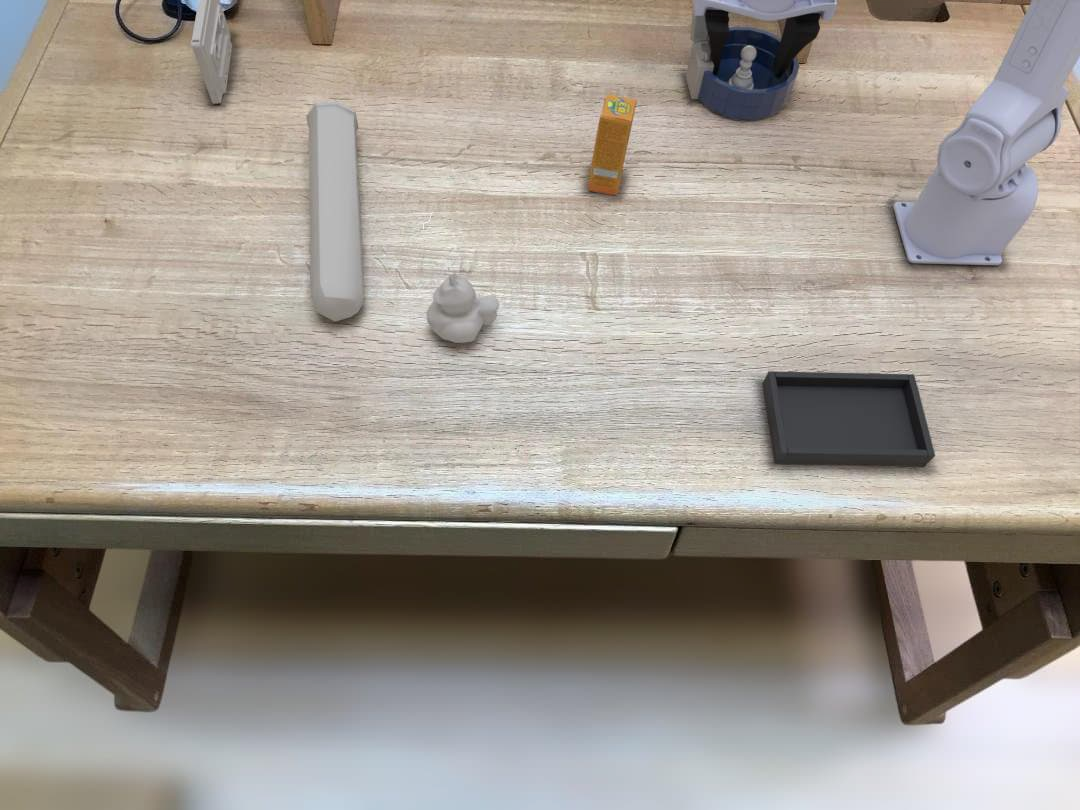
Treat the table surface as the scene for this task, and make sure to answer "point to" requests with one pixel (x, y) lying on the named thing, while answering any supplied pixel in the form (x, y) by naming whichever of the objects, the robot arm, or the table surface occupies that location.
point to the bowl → (766, 89)
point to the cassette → (212, 47)
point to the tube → (334, 211)
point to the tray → (846, 419)
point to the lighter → (698, 55)
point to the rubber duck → (460, 310)
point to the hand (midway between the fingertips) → (744, 70)
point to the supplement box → (611, 144)
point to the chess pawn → (744, 69)
